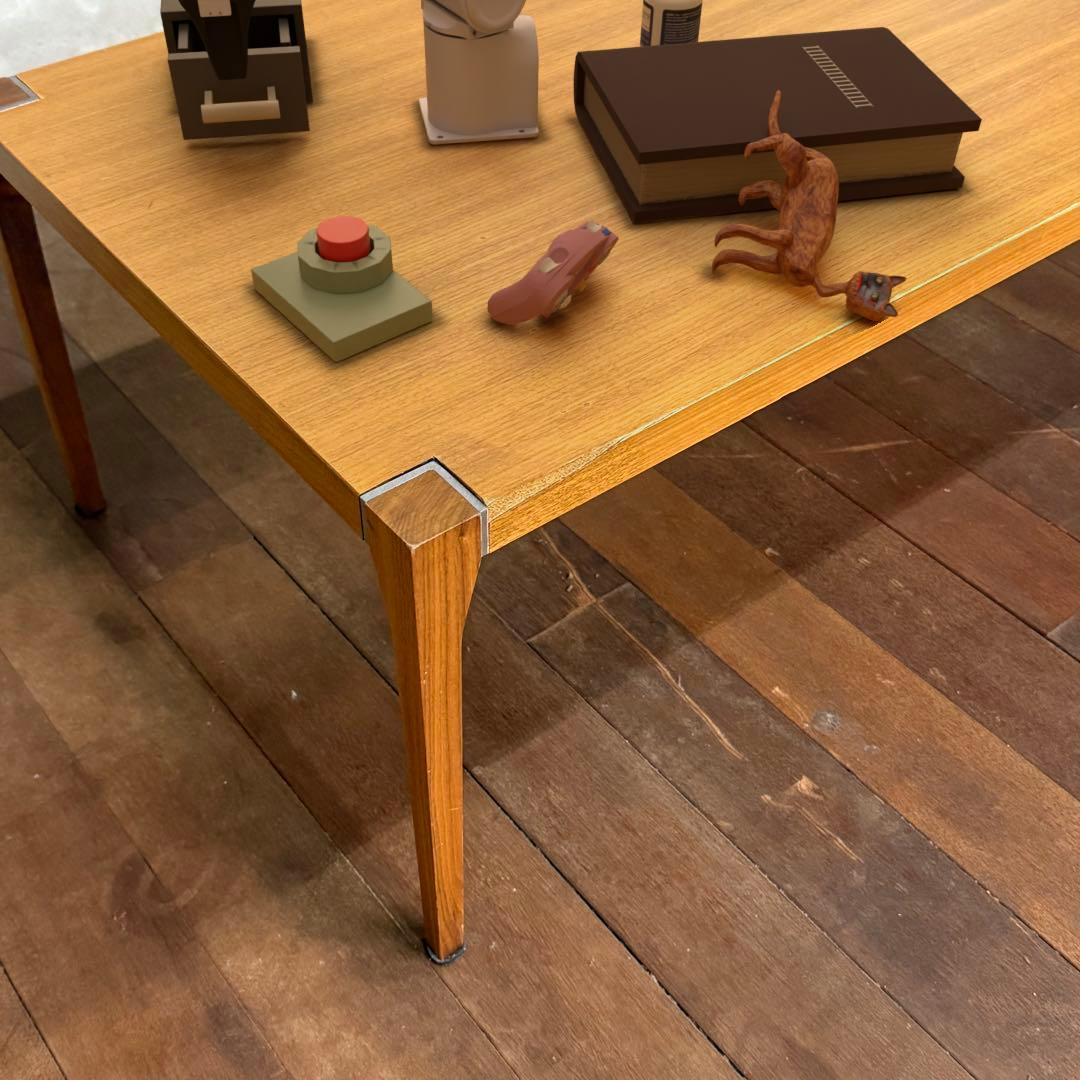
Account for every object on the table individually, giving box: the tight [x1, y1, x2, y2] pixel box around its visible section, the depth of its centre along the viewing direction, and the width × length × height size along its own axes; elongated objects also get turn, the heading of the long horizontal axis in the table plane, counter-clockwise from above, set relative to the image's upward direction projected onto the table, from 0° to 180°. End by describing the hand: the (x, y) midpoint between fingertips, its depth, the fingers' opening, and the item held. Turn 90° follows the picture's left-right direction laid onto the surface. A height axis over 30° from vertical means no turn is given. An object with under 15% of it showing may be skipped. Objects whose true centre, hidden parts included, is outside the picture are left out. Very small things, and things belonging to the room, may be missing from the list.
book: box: [573, 26, 983, 224], centre depth 101 cm, size 28×20×6 cm
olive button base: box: [250, 223, 433, 363], centre depth 85 cm, size 11×9×4 cm
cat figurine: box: [711, 91, 907, 322], centre depth 89 cm, size 18×7×14 cm
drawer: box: [167, 15, 311, 141], centre depth 101 cm, size 16×10×7 cm, turn 11°
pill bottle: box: [639, 0, 704, 47], centre depth 111 cm, size 5×5×10 cm
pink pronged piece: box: [487, 218, 620, 325], centre depth 85 cm, size 10×5×7 cm, turn 148°
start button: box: [316, 215, 370, 263], centre depth 85 cm, size 4×4×2 cm
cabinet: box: [159, 0, 314, 104], centre depth 108 cm, size 13×12×9 cm
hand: (232, 75), depth 91 cm, fingers closed
